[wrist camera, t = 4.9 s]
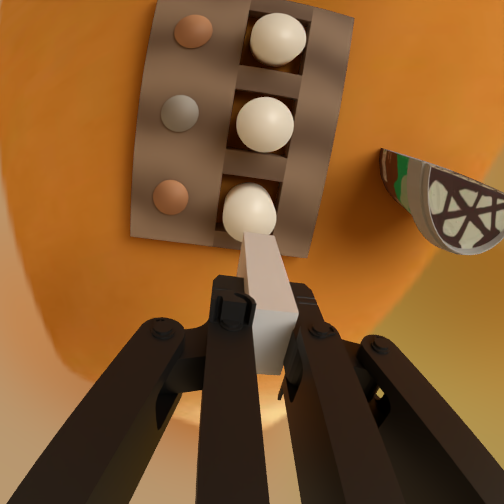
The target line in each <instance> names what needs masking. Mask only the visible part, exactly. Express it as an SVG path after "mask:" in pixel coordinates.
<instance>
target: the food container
mask: <svg viewBox="0 0 504 504" xmlns="http://www.w3.org/2000/svg"><path fill="white" fill-rule="evenodd" d="M379 162H380V172H381V177H382V180H383V182H384V185H385V188H386V190H387V191H388V192H389V193H390V195H391V196H392V197H393V198H394V200H396V201H397V202H398V203H399V204H400V205H401V206H402V207H404V208H405V209H406V210H407V211H408V212H409V213H410V214H412V216H413V219H414V222H415V223H416V225H417V227H418V229H419V231H420V232H421V233H422V234H423V236H424V237H425V238H426V239H427V240H428V241H429V242H431V243H432V244H433V245H435V246H437V247H439V248H441V249H444V250H446V251H449V252H452V253H455V254H461V255H474V254H479V253H482V252H485V251H487V250H489V249H491V248H493V247H494V246H495V245H497V244H498V243H499V242H500V241H501V240H502V239H503V238H504V193H503V192H501V191H499V190H497V189H494V188H492V187H490V186H488V185H485V184H483V183H481V182H478V181H476V180H474V179H471V178H469V177H466V176H464V175H462V174H459V173H457V172H454V171H451V170H448V169H446V168H443V167H440V166H437V165H434V164H431V163H428V162H425V161H422V160H419V159H416V158H413V157H410V156H407V155H403V154H400V153H397V152H394V151H390V150H387V149H383V148H381V151H380V158H379Z"/></svg>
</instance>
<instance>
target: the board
mask: <svg viewBox="0 0 504 504" xmlns="http://www.w3.org/2000/svg"><path fill="white" fill-rule="evenodd" d="M272 13H282V14H287V15H289V16H291V17H293V18H295V19H296V20H297V21H299V22H300V24H301V25H302V26H303V27H306V44H305V47H304V49H303V50H302V56H301V62H300V68H299V74H298V75H296V74H291V73H286V72H281V71H275V70H270V69H264V68H258V67H251V66H244V65H240V60H241V54H242V48H243V43H244V37H245V32H246V27H247V21H248V17H254V18H262V17H263V16H265V15H268V14H272ZM353 25H354V18H352V17H349V16H346V15H343V14H339V13H336V12H332V11H329V10H325V9H321V8H317V7H313V6H309V5H305V4H300V3H296V2H291V1H286V0H158V1H157V6H156V10H155V14H154V19H153V24H152V28H151V33H150V38H149V43H148V49H147V54H146V60H145V66H144V72H143V79H142V85H141V92H140V100H139V108H138V116H137V125H136V135H135V146H134V159H133V174H132V192H131V225H130V236H131V237H139V238H147V239H155V240H163V241H172V242H180V243H188V244H196V245H204V246H212V247H220V248H228V249H236V250H241V245H242V242H240V241H238V240H236V239H234V238H233V237H231V236H230V235H229V234H228V232H227V231H226V229H225V227H224V224H222V223H216V219H217V211H218V204H219V196H220V189H221V181H222V174H231V175H238V176H246V177H253V178H259V179H266V180H273V181H279V185H278V191H277V196H276V201H275V207H274V208H275V211H276V224H275V227H274V229H273V231H272V232H271V233H270V234H269V235H274V236H275V239H276V242H277V245H278V249H279V252H280V255H284V256H292V257H300V258H307V257H308V253H309V249H310V245H311V241H312V237H313V232H314V228H315V224H316V220H317V216H318V211H319V207H320V203H321V198H322V194H323V189H324V185H325V180H326V175H327V171H328V166H329V161H330V156H331V152H332V147H333V142H334V137H335V132H336V126H337V121H338V116H339V110H340V105H341V100H342V94H343V88H344V82H345V77H346V71H347V64H348V58H349V52H350V45H351V39H352V32H353ZM235 90H237V91H244V92H251V93H258V94H264V95H270V96H276V97H281V98H287V99H292V100H294V102H293V108H292V117H293V121H294V128H293V133H292V136H291V138H290V139H289V141H288V142H287V143H286V147H285V153H284V155H279V154H273V153H267V152H258V151H254V150H247V149H240V148H233V147H226V146H227V139H228V133H229V126H230V120H231V113H232V107H233V101H234V95H235Z"/></svg>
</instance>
